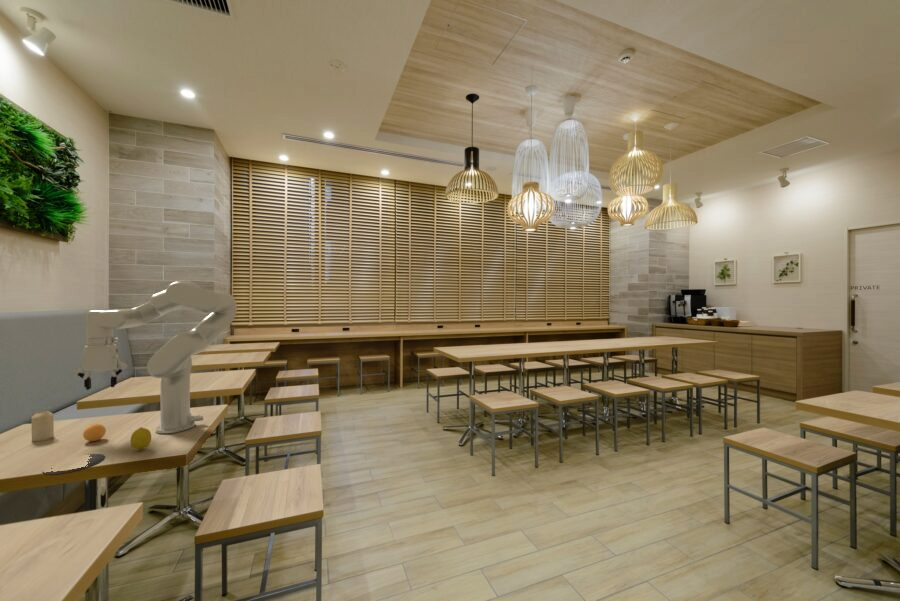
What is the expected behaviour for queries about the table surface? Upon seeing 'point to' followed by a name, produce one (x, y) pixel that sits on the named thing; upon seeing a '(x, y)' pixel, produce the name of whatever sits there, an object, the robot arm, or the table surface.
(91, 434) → the ball
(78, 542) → the table surface
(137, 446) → the lemon
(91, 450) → the table surface
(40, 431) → the candle
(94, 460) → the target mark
